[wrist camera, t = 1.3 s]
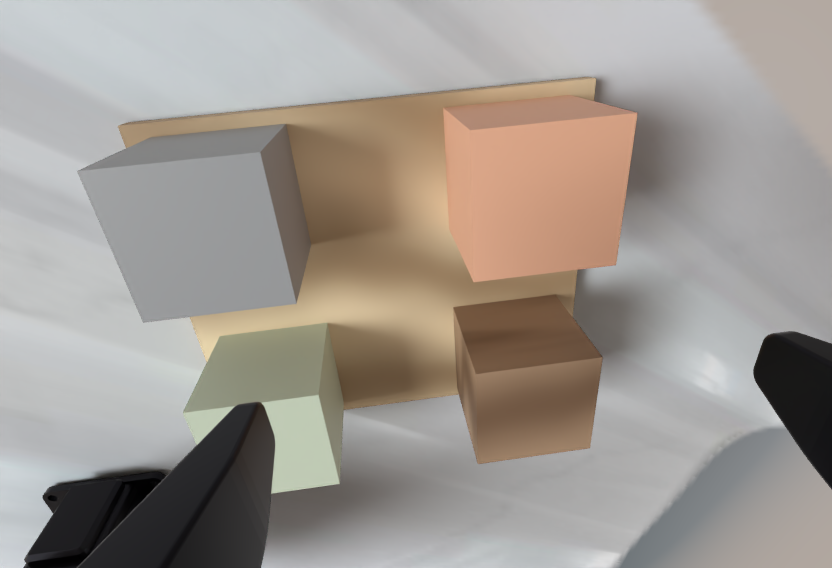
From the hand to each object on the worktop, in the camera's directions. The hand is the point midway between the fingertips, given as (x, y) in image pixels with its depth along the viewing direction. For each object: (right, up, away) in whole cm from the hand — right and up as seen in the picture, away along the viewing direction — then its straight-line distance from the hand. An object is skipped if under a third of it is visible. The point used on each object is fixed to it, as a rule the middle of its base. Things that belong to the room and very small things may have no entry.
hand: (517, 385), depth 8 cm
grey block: (-9, +5, +10) cm, 15 cm away
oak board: (-3, +2, +13) cm, 14 cm away
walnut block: (+3, -1, +15) cm, 15 cm away
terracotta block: (+2, +7, +11) cm, 13 cm away
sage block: (-8, -2, +14) cm, 17 cm away
